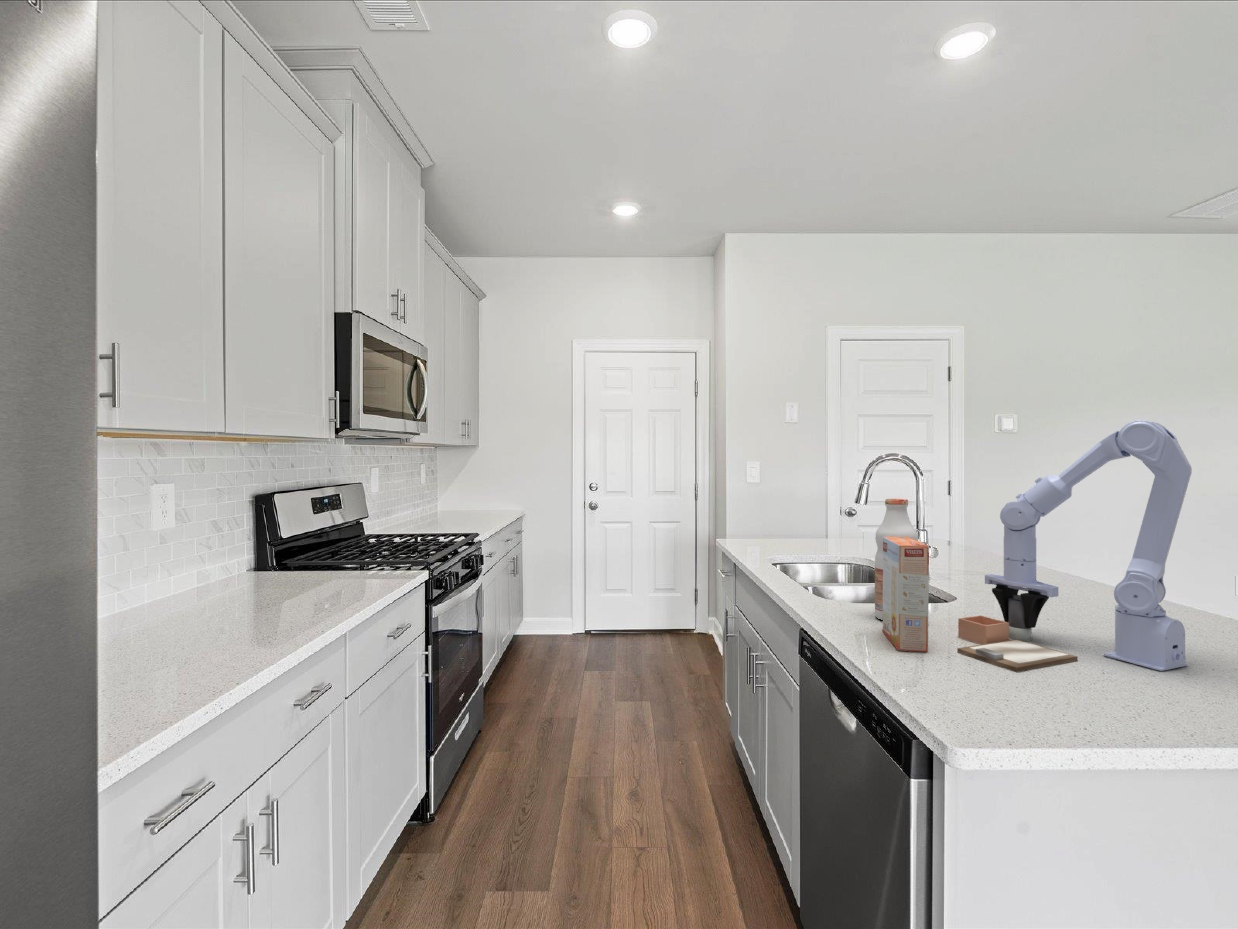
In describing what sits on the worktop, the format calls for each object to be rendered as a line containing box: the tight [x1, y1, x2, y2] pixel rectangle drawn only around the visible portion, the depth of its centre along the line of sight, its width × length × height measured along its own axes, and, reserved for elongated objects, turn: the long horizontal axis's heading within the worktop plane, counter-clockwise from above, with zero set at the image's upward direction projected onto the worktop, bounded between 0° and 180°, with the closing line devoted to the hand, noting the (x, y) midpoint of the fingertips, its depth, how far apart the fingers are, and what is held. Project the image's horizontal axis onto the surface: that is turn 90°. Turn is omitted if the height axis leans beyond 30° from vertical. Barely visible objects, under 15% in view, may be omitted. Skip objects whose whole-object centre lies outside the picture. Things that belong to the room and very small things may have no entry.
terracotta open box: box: [957, 615, 1010, 645], centre depth 128 cm, size 6×6×4 cm
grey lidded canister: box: [1008, 594, 1033, 642], centre depth 129 cm, size 4×4×9 cm
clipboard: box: [956, 639, 1079, 673], centre depth 118 cm, size 12×16×2 cm
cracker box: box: [881, 537, 930, 653], centre depth 127 cm, size 14×6×21 cm, turn 168°
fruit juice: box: [874, 498, 919, 620], centre depth 145 cm, size 9×9×28 cm
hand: (1019, 624), depth 130 cm, fingers closed on grey lidded canister, 4 cm apart
